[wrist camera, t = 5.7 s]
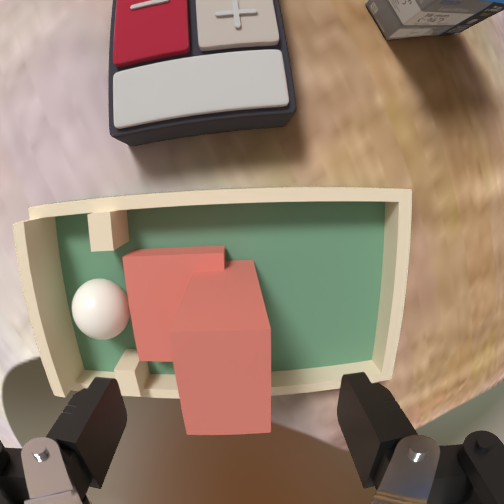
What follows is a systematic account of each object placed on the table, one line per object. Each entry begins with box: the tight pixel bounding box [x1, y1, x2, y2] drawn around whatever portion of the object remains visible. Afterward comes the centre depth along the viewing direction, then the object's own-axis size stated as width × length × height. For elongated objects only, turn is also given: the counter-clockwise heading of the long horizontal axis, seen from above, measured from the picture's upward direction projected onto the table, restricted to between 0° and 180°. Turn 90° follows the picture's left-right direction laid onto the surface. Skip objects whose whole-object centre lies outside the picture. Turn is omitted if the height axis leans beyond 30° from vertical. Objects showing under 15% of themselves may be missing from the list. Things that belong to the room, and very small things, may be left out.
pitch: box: [13, 187, 412, 399], centre depth 20 cm, size 25×14×5 cm, turn 92°
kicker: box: [122, 245, 271, 435], centre depth 16 cm, size 8×7×10 cm
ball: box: [72, 278, 130, 340], centre depth 19 cm, size 4×4×4 cm
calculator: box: [109, 0, 296, 146], centre depth 17 cm, size 11×4×15 cm
